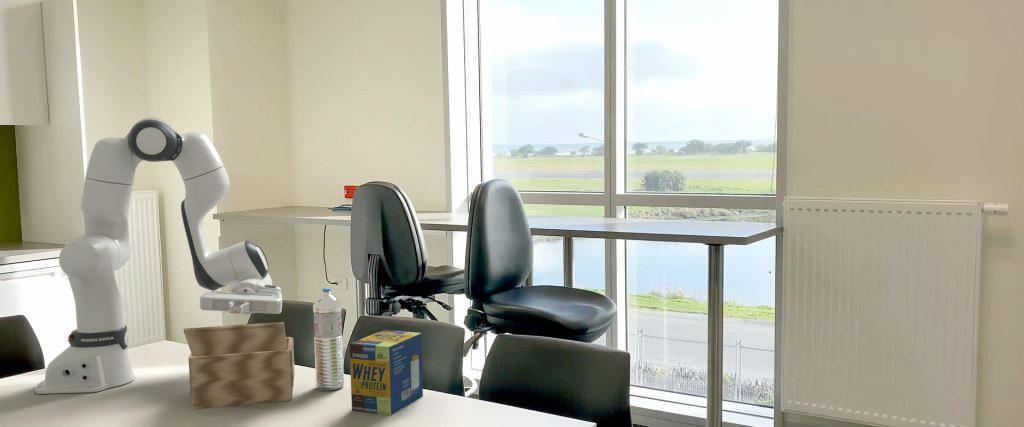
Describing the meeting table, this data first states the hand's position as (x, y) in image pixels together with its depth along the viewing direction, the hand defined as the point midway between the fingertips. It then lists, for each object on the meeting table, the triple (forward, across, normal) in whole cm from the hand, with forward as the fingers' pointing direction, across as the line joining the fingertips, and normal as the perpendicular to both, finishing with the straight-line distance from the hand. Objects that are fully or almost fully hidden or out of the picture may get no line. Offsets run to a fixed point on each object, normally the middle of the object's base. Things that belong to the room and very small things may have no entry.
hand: (235, 310), depth 196 cm
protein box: (+21, +40, +15) cm, 47 cm away
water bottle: (+6, +25, +17) cm, 31 cm away
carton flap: (+20, +5, +1) cm, 21 cm away
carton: (+10, +5, +18) cm, 21 cm away
